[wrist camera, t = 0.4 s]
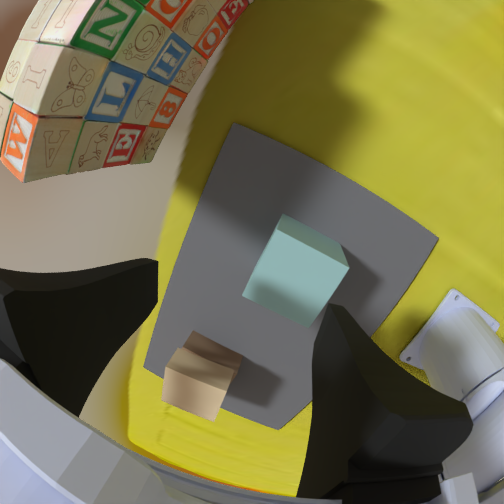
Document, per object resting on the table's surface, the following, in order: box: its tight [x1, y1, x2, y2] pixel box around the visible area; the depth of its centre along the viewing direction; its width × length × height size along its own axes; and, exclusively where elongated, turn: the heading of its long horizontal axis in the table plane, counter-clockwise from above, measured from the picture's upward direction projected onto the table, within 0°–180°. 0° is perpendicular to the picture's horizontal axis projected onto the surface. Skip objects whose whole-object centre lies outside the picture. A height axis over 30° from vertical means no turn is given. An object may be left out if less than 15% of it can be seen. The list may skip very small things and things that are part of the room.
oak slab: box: [162, 348, 234, 422], centre depth 20 cm, size 5×5×2 cm
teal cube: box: [242, 214, 349, 328], centre depth 17 cm, size 4×4×4 cm
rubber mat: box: [143, 123, 438, 430], centre depth 22 cm, size 17×26×1 cm, turn 155°
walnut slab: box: [182, 330, 243, 385], centre depth 23 cm, size 5×5×2 cm
